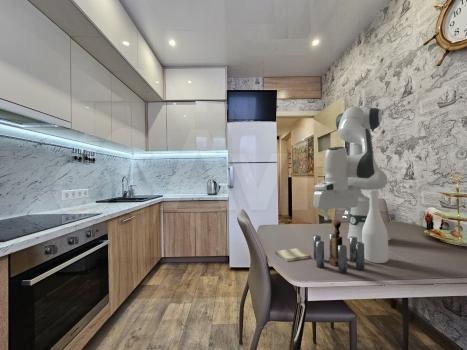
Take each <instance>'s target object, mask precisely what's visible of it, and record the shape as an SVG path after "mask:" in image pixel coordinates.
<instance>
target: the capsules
mask: <svg viewBox="0 0 467 350" xmlns="http://www.w3.org/2000/svg"><path fill="white" fill-rule="evenodd" d="M332 236H335V234H334V233H329V239H328V240H329V257H330V256H331V255H332ZM321 237H322V236H320V235H313V260H314V261H316V265H315V266H316V267H317V268H319V269H324V268H325V241H323V240H321V239H322V238H321ZM347 247H348V245H346V244H342V245H338V266H337V269H338V273H339V274H343V275H346V274H348V250H347ZM349 262H350V263H355V269H356V270H358V271H365V270H366V266H365V264H366V263H365V262H366V260H365V258H364V243H362V242H358V240H357V237H350V240H349Z"/></svg>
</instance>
